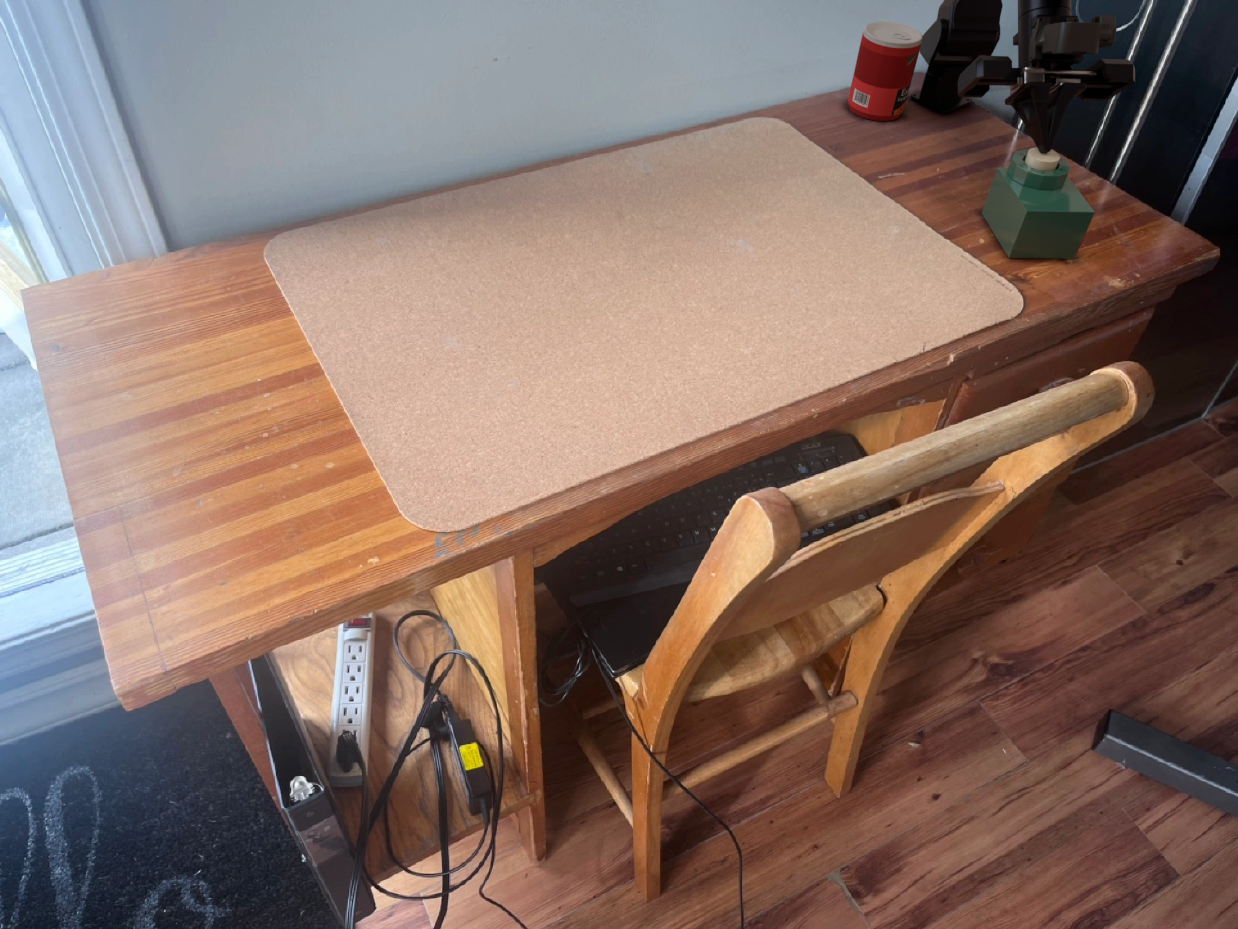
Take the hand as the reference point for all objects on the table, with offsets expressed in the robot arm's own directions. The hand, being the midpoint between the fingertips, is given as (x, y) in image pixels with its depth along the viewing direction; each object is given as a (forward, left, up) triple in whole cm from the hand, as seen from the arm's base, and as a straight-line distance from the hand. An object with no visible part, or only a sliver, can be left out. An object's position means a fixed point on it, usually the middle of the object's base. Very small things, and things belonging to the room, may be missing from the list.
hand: (1045, 152), depth 114 cm
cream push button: (0, 0, -2) cm, 2 cm away
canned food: (-9, -31, -9) cm, 34 cm away
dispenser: (+2, +2, -9) cm, 10 cm away
